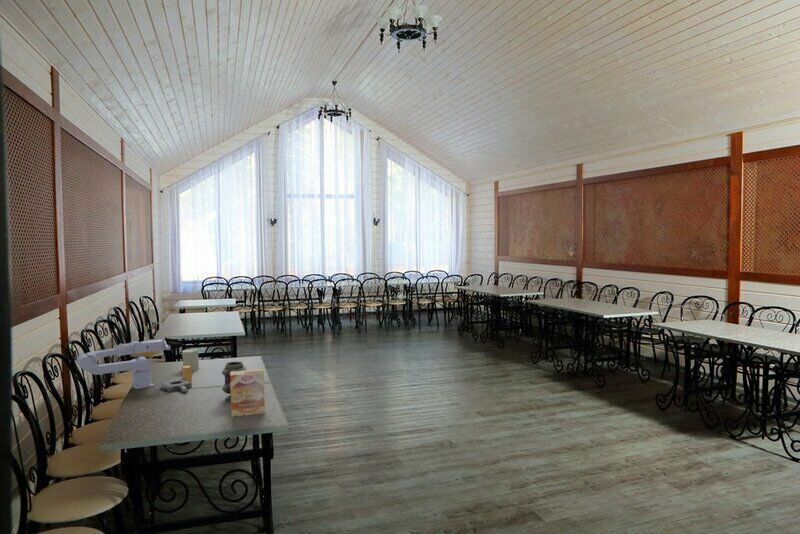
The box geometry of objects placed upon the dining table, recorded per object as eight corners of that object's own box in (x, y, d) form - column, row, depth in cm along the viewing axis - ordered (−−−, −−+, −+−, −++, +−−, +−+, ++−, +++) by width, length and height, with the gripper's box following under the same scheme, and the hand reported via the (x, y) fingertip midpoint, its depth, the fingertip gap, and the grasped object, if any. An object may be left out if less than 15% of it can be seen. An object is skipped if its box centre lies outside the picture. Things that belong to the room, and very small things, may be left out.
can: (195, 371, 332) (194, 351, 331) (180, 371, 332) (179, 351, 331) (201, 367, 341) (200, 347, 340) (186, 367, 342) (185, 348, 341)
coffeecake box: (231, 417, 250) (229, 375, 249) (231, 412, 257) (229, 371, 256) (265, 413, 254) (263, 372, 253) (264, 408, 261) (263, 368, 260)
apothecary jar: (252, 395, 282) (250, 360, 281) (239, 402, 270) (237, 366, 269) (231, 393, 285) (230, 359, 284) (217, 401, 274) (216, 365, 272)
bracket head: (174, 395, 285) (173, 390, 284) (161, 387, 300) (161, 382, 299) (197, 390, 292) (197, 385, 292) (183, 382, 307) (183, 378, 307)
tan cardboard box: (184, 382, 309) (184, 368, 308) (182, 380, 312) (181, 366, 311) (192, 380, 311) (191, 366, 311) (189, 379, 314) (188, 365, 314)
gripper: (158, 342, 299) (184, 339, 307) (150, 335, 310) (175, 333, 318) (158, 354, 300) (183, 351, 308) (150, 347, 311) (175, 344, 319)
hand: (179, 343), depth 313 cm, fingers open, 7 cm apart
